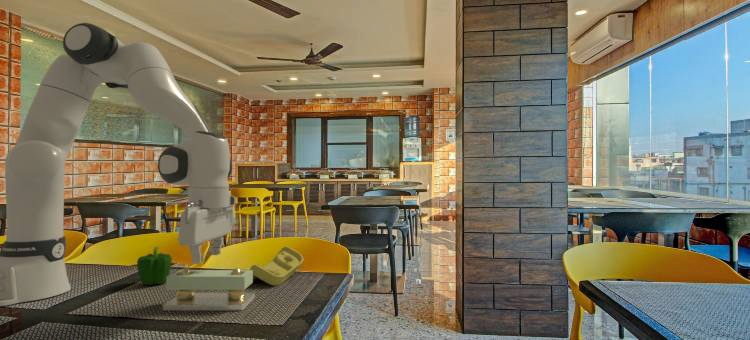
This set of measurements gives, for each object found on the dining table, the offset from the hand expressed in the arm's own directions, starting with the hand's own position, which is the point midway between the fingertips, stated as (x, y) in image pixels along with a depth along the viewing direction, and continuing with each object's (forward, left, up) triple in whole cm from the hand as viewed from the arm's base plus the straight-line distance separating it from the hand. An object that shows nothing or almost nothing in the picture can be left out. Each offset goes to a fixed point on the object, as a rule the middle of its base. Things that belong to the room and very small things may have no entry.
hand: (207, 258), depth 91 cm
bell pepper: (-22, +18, -11) cm, 31 cm away
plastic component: (+10, +25, -11) cm, 29 cm away
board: (+1, +1, -7) cm, 7 cm away
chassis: (+1, +1, -11) cm, 11 cm away
